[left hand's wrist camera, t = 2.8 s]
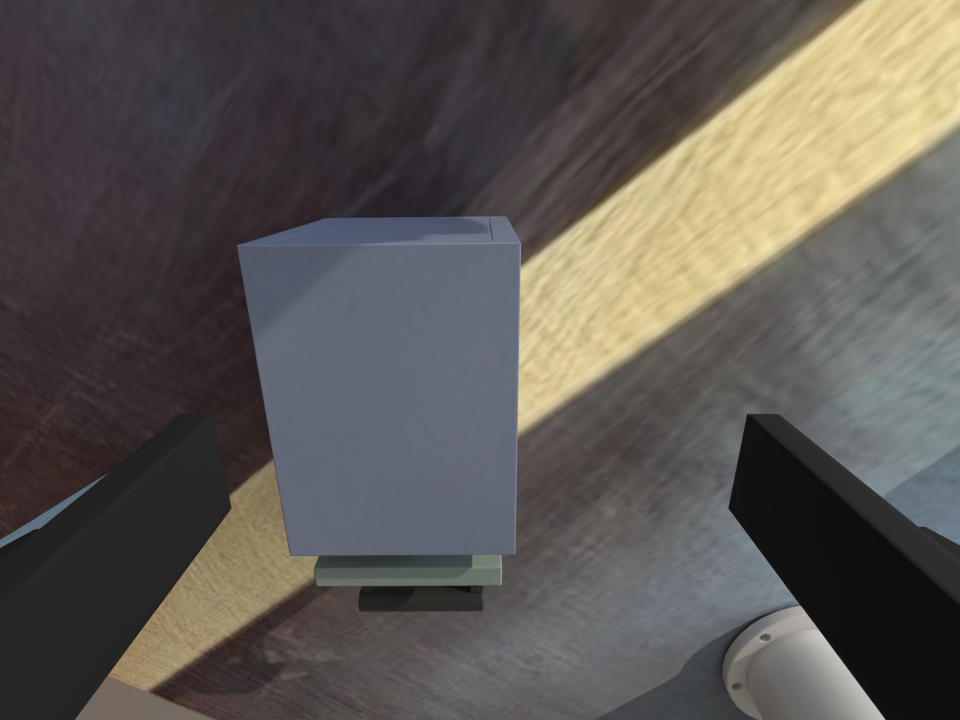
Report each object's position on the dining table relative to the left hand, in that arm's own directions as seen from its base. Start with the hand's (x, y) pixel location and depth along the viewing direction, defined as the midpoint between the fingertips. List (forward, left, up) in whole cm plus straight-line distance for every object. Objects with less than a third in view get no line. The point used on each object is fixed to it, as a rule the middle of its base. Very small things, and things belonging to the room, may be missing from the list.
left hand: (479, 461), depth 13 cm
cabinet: (+4, -3, -20) cm, 21 cm away
